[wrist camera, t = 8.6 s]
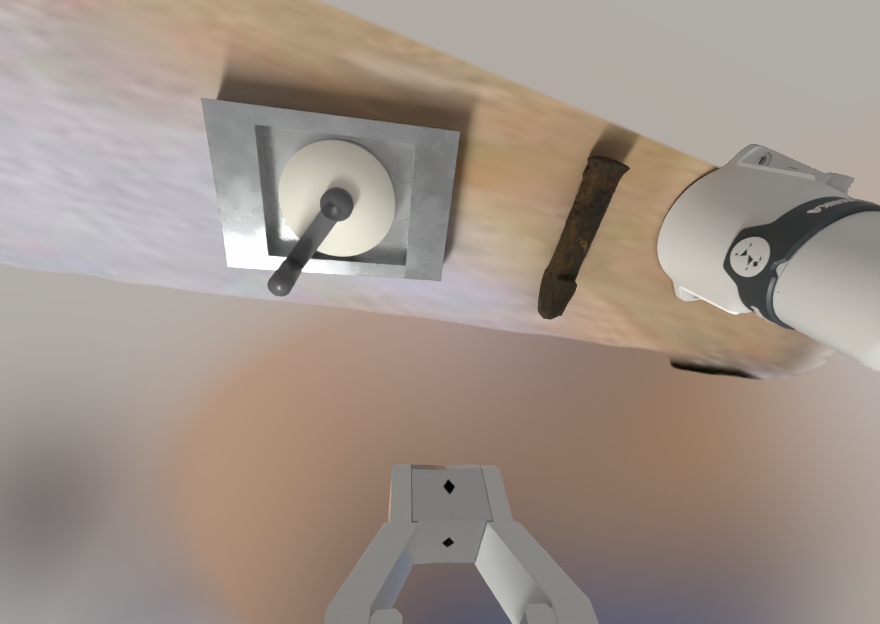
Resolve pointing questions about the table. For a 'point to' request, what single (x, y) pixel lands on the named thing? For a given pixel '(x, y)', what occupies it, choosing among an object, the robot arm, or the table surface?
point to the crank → (332, 205)
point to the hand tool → (578, 234)
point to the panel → (289, 130)
